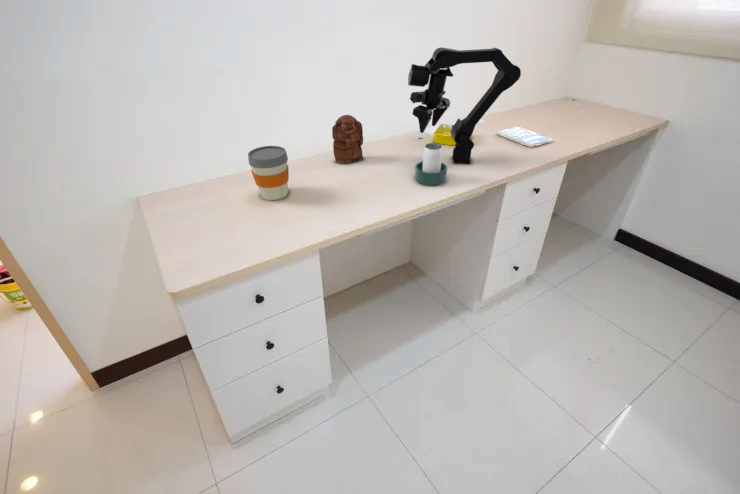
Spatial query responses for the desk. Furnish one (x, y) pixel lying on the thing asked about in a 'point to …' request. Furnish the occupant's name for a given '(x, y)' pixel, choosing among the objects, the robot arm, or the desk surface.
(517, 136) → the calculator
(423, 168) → the can
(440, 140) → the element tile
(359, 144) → the wooden figurine
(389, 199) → the desk surface
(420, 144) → the desk surface
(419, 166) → the bowl
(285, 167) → the reusable coffee cup
